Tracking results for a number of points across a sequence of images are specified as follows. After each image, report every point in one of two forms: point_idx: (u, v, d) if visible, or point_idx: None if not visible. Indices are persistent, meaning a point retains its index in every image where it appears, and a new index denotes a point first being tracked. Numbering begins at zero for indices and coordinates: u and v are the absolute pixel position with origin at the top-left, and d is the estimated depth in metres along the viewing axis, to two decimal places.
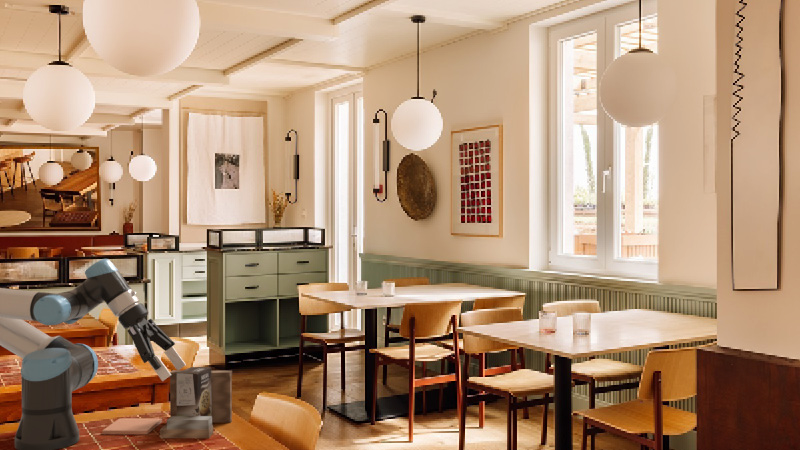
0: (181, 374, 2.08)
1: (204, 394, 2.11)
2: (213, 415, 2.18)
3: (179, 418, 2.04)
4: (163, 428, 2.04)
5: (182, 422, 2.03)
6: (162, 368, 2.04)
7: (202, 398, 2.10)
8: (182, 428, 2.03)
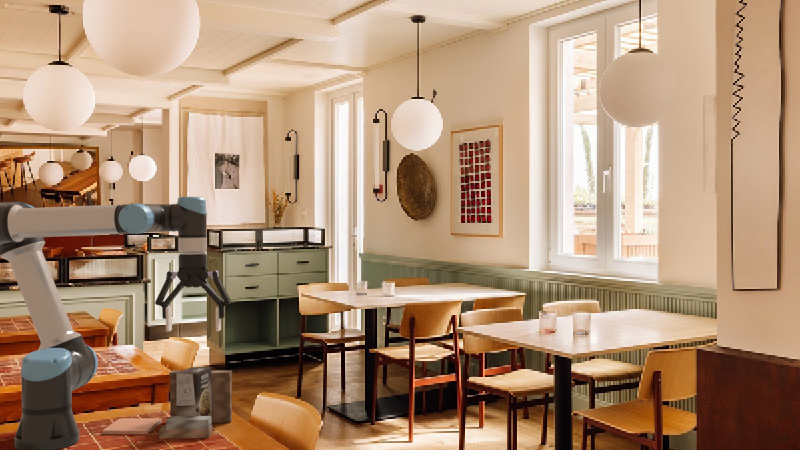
0: (181, 374, 2.08)
1: (204, 394, 2.11)
2: (213, 415, 2.18)
3: (178, 418, 2.04)
4: (162, 428, 2.04)
5: (181, 422, 2.03)
6: (220, 320, 2.12)
7: (202, 398, 2.10)
8: (182, 428, 2.03)
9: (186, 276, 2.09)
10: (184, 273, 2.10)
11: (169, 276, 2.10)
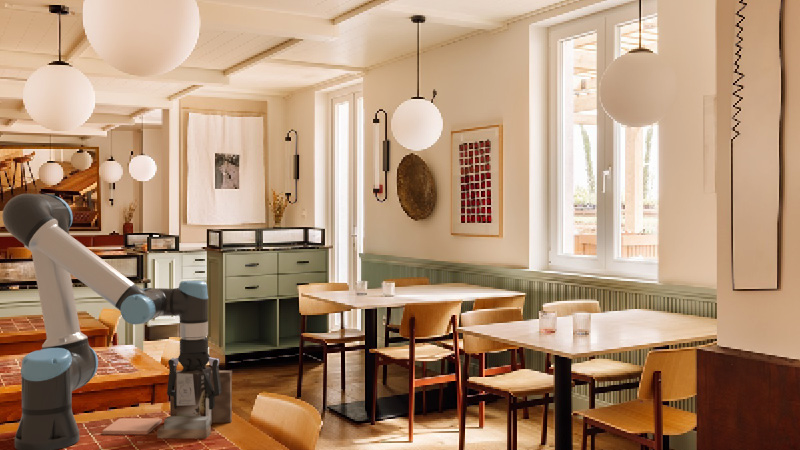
0: (181, 374, 2.08)
1: (204, 394, 2.11)
2: (213, 415, 2.18)
3: (177, 418, 2.04)
4: (161, 428, 2.04)
5: (179, 422, 2.03)
6: (210, 410, 2.12)
7: (202, 398, 2.10)
8: (180, 428, 2.03)
9: (187, 361, 2.10)
10: (184, 356, 2.10)
11: (171, 364, 2.10)
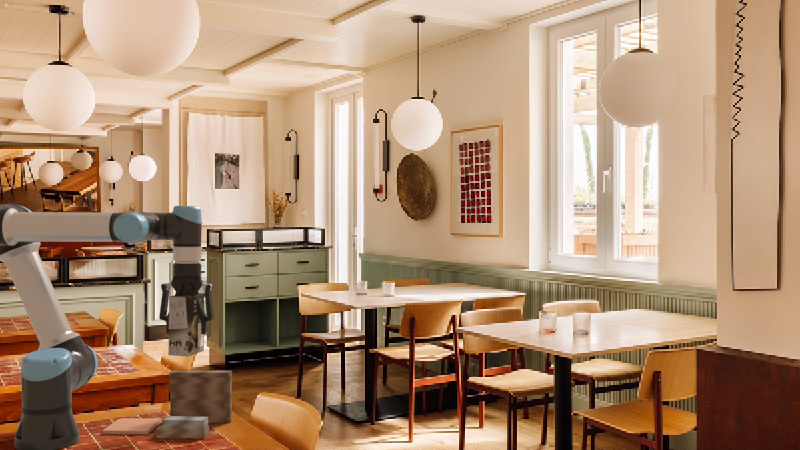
0: (174, 297, 2.07)
1: (196, 319, 2.10)
2: (213, 415, 2.18)
3: (175, 418, 2.04)
4: (159, 428, 2.04)
5: (177, 422, 2.03)
6: (202, 335, 2.12)
7: (195, 322, 2.09)
8: (178, 428, 2.03)
9: (180, 285, 2.09)
10: (177, 281, 2.10)
11: (164, 288, 2.10)
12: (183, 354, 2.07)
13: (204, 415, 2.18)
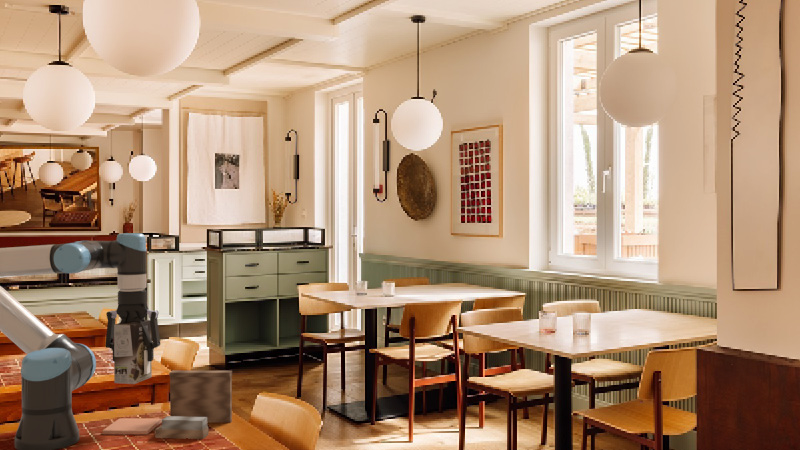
0: (118, 325, 2.08)
1: (142, 346, 2.11)
2: (213, 415, 2.18)
3: (174, 418, 2.04)
4: (158, 428, 2.04)
5: (176, 422, 2.03)
6: (149, 362, 2.13)
7: (140, 349, 2.10)
8: (177, 428, 2.03)
9: (125, 313, 2.10)
10: (123, 308, 2.11)
11: (110, 316, 2.11)
12: (129, 382, 2.07)
13: (204, 415, 2.18)
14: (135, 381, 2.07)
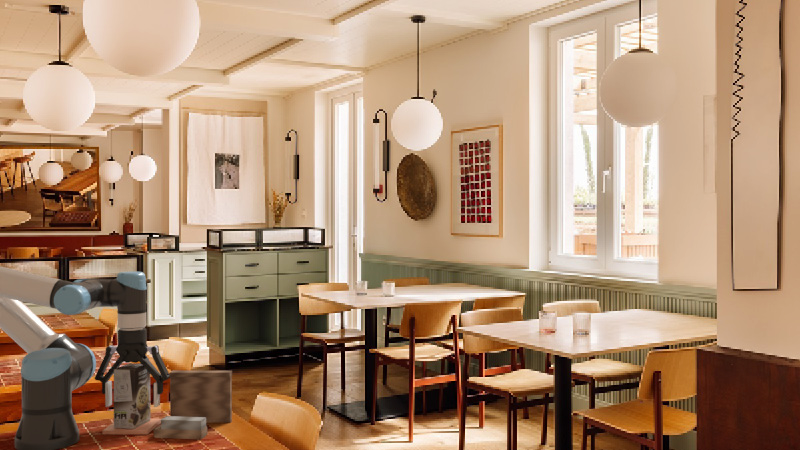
0: (118, 370, 2.08)
1: (142, 390, 2.11)
2: (213, 415, 2.18)
3: (173, 418, 2.04)
4: (158, 428, 2.04)
5: (175, 422, 2.03)
6: (159, 395, 2.13)
7: (140, 394, 2.10)
8: (175, 428, 2.03)
9: (125, 352, 2.10)
10: (123, 348, 2.11)
11: (108, 351, 2.11)
12: (128, 427, 2.08)
13: (204, 415, 2.18)
14: (135, 426, 2.08)
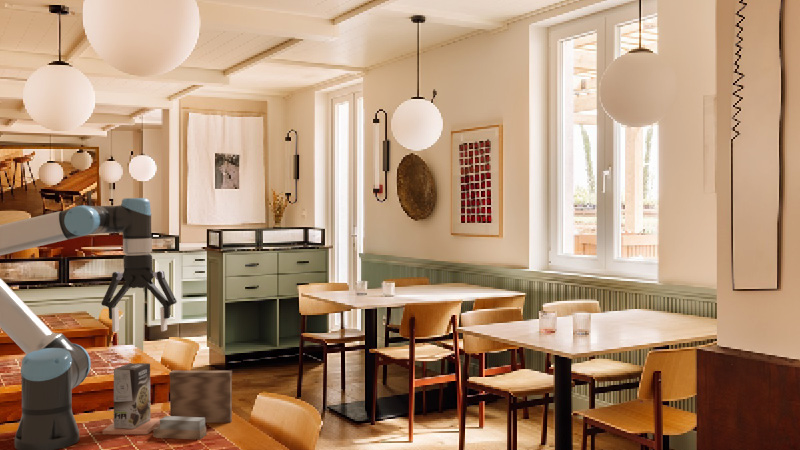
0: (118, 370, 2.08)
1: (142, 390, 2.11)
2: (213, 415, 2.18)
3: (172, 418, 2.04)
4: (157, 428, 2.04)
5: (174, 422, 2.03)
6: (166, 320, 2.14)
7: (140, 394, 2.10)
8: (174, 428, 2.03)
9: (131, 277, 2.11)
10: (129, 274, 2.12)
11: (114, 277, 2.12)
12: (128, 427, 2.08)
13: (204, 415, 2.18)
14: (135, 426, 2.08)
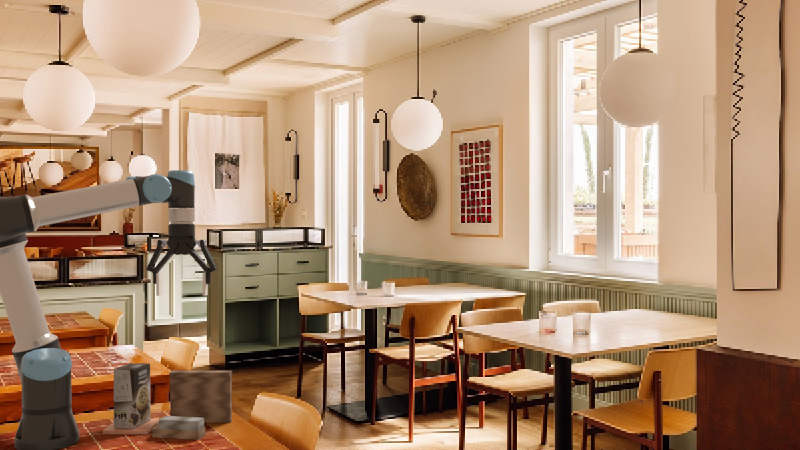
0: (118, 370, 2.08)
1: (142, 390, 2.11)
2: (213, 415, 2.18)
3: (171, 418, 2.04)
4: (156, 427, 2.04)
5: (173, 422, 2.03)
6: (207, 285, 2.28)
7: (140, 394, 2.10)
8: (173, 428, 2.03)
9: (175, 244, 2.25)
10: (173, 241, 2.26)
11: (159, 244, 2.26)
12: (128, 427, 2.08)
13: (204, 415, 2.18)
14: (135, 426, 2.08)
